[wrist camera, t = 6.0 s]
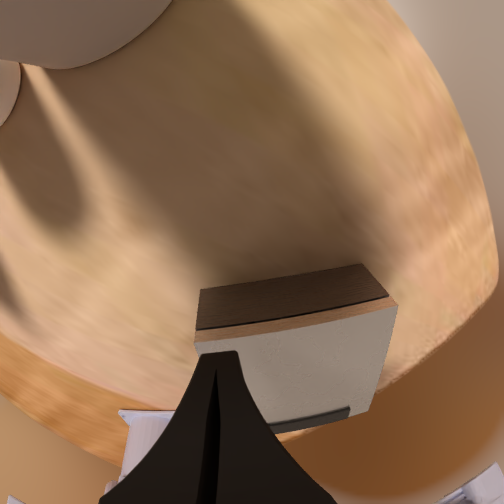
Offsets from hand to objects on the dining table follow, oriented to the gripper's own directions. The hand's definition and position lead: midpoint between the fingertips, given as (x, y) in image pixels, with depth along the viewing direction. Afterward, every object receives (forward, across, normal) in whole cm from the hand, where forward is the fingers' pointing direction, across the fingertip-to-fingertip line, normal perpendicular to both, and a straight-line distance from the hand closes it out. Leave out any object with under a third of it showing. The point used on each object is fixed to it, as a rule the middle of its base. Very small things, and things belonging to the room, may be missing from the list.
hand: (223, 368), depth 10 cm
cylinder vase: (+10, +6, -21) cm, 24 cm away
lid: (+5, -4, +8) cm, 10 cm away
